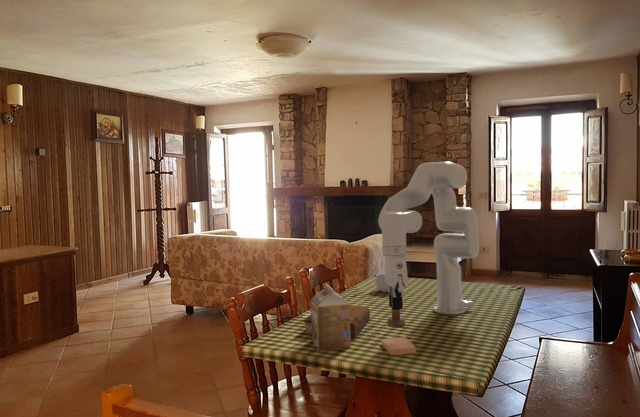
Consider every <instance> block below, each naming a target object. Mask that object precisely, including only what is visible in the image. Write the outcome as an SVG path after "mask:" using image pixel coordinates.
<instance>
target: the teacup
mask: <svg viewBox="0 0 640 417" xmlns="http://www.w3.org/2000/svg"><path fill="white" fill-rule="evenodd" d="M375 287H376V289H377V290H378V291H379V292H383V293H389V285H388V284H387V283H386V282H385V273H380V274H378V273H377V274H375Z"/></svg>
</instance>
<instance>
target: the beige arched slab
mask: <svg viewBox="0 0 640 417" xmlns="http://www.w3.org/2000/svg"><path fill="white" fill-rule="evenodd" d="M370 310H371V309H370V308H369V307H368V306H359V305H357V306H356V305H350V339H356V338H357V336H358V334H359V333H360V332H361V331H362V330H363V329H364V327H365V326H366V324H367V323H369V321H370V320H371V318H370V315H371V314H370V312H371V311H370ZM303 323H304V324H305V331H304V333H303V335H304V336H312V322H311V314H309V315H308V316H307V317H305V318H304V319H303Z"/></svg>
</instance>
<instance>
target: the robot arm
mask: <svg viewBox="0 0 640 417" xmlns="http://www.w3.org/2000/svg"><path fill="white" fill-rule="evenodd" d="M467 181H468V173H467V170H466V169H465V167H464V166H463V165H460V164H458V163H454V162H451V161H437V162H436V161H432V162H431V161H430V162H423V163H421V164H419V165H418V166H417V167H416V169H415V171H414V173H413V175H412V176H411V179H410V181H409V183H408V184H407V187H405V188H403V189H401V190H400V191H398V192H397V193H396V194H393V195H392V196H391V197H390V198H388V199H387V200H386V202H385V203H384V205H383V206H382V209H381V211H380V213H379V215H378V227H379V228H380V230H381V240H382V241H381V243H382V244H381V248H382V249H381V250H382V252H381V254H382V257H384V274H385V282H386V283H387V284H388V285H389V292H388V294H389V295H388V304H389V307H390V308H391V310H392V309H393V310H400V311H401V310H403V309H404V307H403V305H404V304H403V293H404V292H405V291H404V288H405V289H406V288H408V287H409V280H408V278H409V277H408V267H407V259H406V256H407V233H409V234H413V233H416V232H418V231H419V230H420V229H421V228H422V225H423V218H422V215H421V213H420V212H418V211H417V210H413V209H412V208H416V207H418V206H421V205H423V204H425V203H426V202H427V201H429V199H430V196H432V197H433V204H434V206H433V207H434V215H435V216H434V217H435V225H436V227H437V229H438V230H440V231H446V233H440V234H438V235H436V236H435V238H434V240H433V248H434V254H435V262H436V298H437V299H436V300H437V301H436V302H437V305H435V306H433V311H434V312H435V313H438V314H442V315H462V314H465V313H466V311H467V310H466V307H468V306H469V307H473V306H474V302H473V301H472V300H468V301H467V300H463V299H462V267H461V265H460V263H459V262H458V260H457V259H458V258H461V259H474V258H476V257H478V255H479V252H480V238H479V223H478V215H477V213H476V211H475V209H474V208H472V207H467V206H458V204H457V197H456V196H457V194H456V193H455V191H454V190H453V189H462V188H463V187H465V185H466V184H467ZM449 232H462V233H449ZM396 286H398V287H396ZM391 287H392V288H393V297H392V301H391Z"/></svg>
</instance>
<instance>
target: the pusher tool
mask: <svg viewBox="0 0 640 417" xmlns="http://www.w3.org/2000/svg"><path fill="white" fill-rule="evenodd" d="M396 287H398V286H396ZM390 295H391V301H392V297H393V288H392V287H391V294H390ZM386 321H387V327H389V328H392V329H394V328H395V329H400V328H404V327H405V326H406V318H405V317H404V316H403V317H402V316H401V309H400V310H393V309H392V308H391V316H390V317H387V320H386Z"/></svg>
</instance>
